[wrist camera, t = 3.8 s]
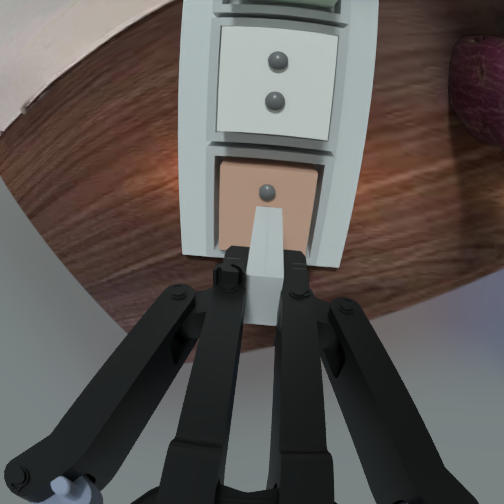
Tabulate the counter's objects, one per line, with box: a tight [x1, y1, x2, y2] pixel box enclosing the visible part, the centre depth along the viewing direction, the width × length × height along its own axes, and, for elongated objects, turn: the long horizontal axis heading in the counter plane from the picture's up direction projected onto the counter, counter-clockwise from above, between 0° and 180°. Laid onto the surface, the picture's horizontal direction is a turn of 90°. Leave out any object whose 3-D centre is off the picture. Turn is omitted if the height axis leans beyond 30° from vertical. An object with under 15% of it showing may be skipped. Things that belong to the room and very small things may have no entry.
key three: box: [219, 156, 318, 255], centre depth 22 cm, size 6×6×3 cm
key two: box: [217, 26, 338, 140], centre depth 16 cm, size 6×6×3 cm
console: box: [178, 0, 379, 268], centre depth 18 cm, size 30×14×4 cm, turn 176°
